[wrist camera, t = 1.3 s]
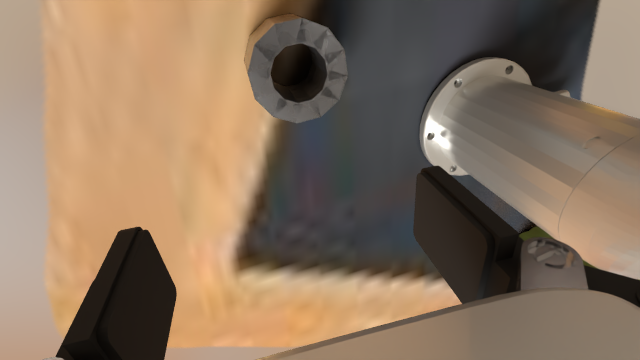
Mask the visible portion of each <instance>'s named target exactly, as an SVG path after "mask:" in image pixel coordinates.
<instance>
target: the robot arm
mask: <svg viewBox="0 0 640 360" xmlns="http://www.w3.org/2000/svg"><path fill="white" fill-rule="evenodd" d="M420 144H421V148H422V151H423V153H424V155H425V157H426V158H427V159H428V161H429V162H430V163H431V164H432V165H433V166H432V167H428V168H423V169H422V170H421V173H419V174H418V175H417V182H416V198H415V213H414V229H413V232H414V236H415V239H416V241H417V242H418V243H419V245H420V246H421V248H422V249H423V250H424V252H425V253H426V254H427V256H428V257H429V258H430V260H431V261H432V263H433V264H434V265H435V267H436V268H437V269H438V271H439V272H440V274H441V275H442V276H443V278H444V279H445V280H446V282H447V283H448V285H449V286H450V287H451V289H452V290H453V291H454V293H455V294H456V296H457V297H458V298H459V300H460V301H461V302H462V304H460V305H456V306H452V307H448V308H445V309H441V310H437V311H433V312H430V313H426V314H422V315H418V316H414V317H411V318H407V319H403V320H399V321H396V322H392V323H388V324H384V325H381V326H377V327H373V328H369V329H366V330H362V331H358V332H355V333H351V334H347V335H343V336H340V337H336V338H332V339H329V340H325V341H321V342H318V343H314V344H310V345H307V346H303V347H299V348H296V349H292V350H289V351H285V352H281V353H277V354H274V355H270V356H267V357H263V358H259V359H256V360H640V119H638V118H634V117H631V116H628V115H625V114H622V113H618V112H615V111H612V110H608V109H605V108H602V107H599V106H595V105H592V104H589V103H586V102H583V101H580V100H576V99H573V98H570V94H569V92H568V91H567V90H560V91H556V92H551V91H547V90H544V89H541V88H538V87H535V86H532V83H531V81H530V78H529V76H528V74H527V73H526V72H525V70H524V69H523V68H522V67H521V66H520V65H518V64H517V63H515V62H513V61H510V60H507V59H503V58H498V57H484V58H480V59H476V60H473V61H471V62H469V63H467V64H464V65H462V66H461V67H459V68H458V69H457V70H455V71H454V72H452V73H451V74H450V75H449V76H448V77H447V78H446V79H445V80H443V81H442V82H441V84H440V85H439V86H438V88H437V89H436V90H435V91H434V93H433V94H432V96H431V98H430V99H429V101H428V103H427V105H426V107H425V110H424V113H423V115H422V119H421V124H420ZM469 174H470V175H471V176H472V177H474V178H475V179H476V180H478V181H479V182H480V183H482V184H483V185H484V186H485V187H487V188H488V189H489V190H491V191H492V192H493V193H495V194H496V195H497V196H499V197H500V198H501V199H503V200H504V201H505V202H507V203H508V204H509V205H511V206H512V207H513V208H515V209H516V210H517V211H519V212H520V213H521V214H523V215H524V216H525V217H527V218H528V219H529V220H531V221H532V222H533V223H535V224H536V225H537V226H539V227H540V228H541V229H542V230H544V231H545V232H546V233H548V234H549V235H550V236H552V237H553V238H554V239H552V238H546V237H532V238H529V239H527V240H525V241H524V240H523V239H522V238H520V237H519V233H518V232H517V231H516V230H515V229H513V228H512V227H511V226H510V225H509V224H507V223H506V222H505V221H504V220H503V219H502V218H500V217H499V216H498V215H497V214H496V213H494V212H493V211H492V210H491V209H490V208H489V207H487V206H486V205H485V204H484V203H483V202H482V201H480V200H479V199H478V198H477V197H476V196H474V195H473V194H472V193H471V192H470V191H469V190H467V189H466V188H465V187H464V186H463V185H462V184H460V183H459V182H458V181H457V180H456V179H454V178H453V177H452V176H451V175H469ZM555 239H556V240H555ZM582 259H583V260H584V261H586V262H587V263H589V264H591V265H592V266H594V267H596V268H593V267H589V266H586V265H583V260H582ZM597 268H598V269H597ZM638 279H639V280H638ZM175 301H176V287H175V285H174V283H173V281H172V279H171V276H170V274H169V272H168V270H167V268H166V266H165V264H164V262H163V260H162V258H161V255H160V253H159V251H158V249H157V247H156V245H155V243H154V241H153V239H152V237H151V234H150V233H149V231H148V230H143V229H142V228H141V227H135V228H130V229H125V230H121V231H119V232H118V234H117V236H116V238H115V240H114V242H113V244H112V246H111V248H110V250H109V252H108V254H107V256H106V258H105V260H104V262H103V264H102V266H101V268H100V270H99V272H98V274H97V276H96V278H95V280H94V281H93V283H92V284H91V286H90V288H89V290H88V292H87V294H86V296H85V298H84V300H83V302H82V304H81V306H80V308H79V310H78V312H77V314H76V316H75V318H74V320H73V322H72V324H71V326H70V328H69V330H68V332H67V334H66V336H65V339H64V341H63V343H62V345H61V347H60V349H59V351H58V353H57V355H56V357H52V358H46V359H43V360H164V357H165V352H166V347H167V342H168V337H169V332H170V327H171V322H172V317H173V312H174V307H175Z"/></svg>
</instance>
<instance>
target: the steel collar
mask: <svg viewBox="0 0 640 360" xmlns="http://www.w3.org/2000/svg"><path fill="white" fill-rule="evenodd" d="M300 43H302V44H305V45H307V47H308V48H309V49H310V53H311V58H312V65H311V68H310V71H309V75H308V76H307V77H306V78H305V79H304V80H303V81H302V82H301V83H299V84H296V85H292V86H288V87H287V86H284V85H281V84H277V83H275V82H274V81H273V80H272V78H271V74H270V73H271V69H272V65H273V62H274V58H275V57H276V56H277V55H278V54H279V53H280V52H281V51H282V50H283V49H284V48H285V47H287V46H291V45H295V44H300ZM244 62H245V65H246V69H247V73H248V76H249V80H250V83H251V87H252V90H253V94H254V97H255V100H257V101H258V102H259V103H260V104H261V105H262V106H263V107H264V108H265V109H266V110H267V111H268V112H269V113H270V114H271V115H272V116H273V117H275V118H279V119H283V120H287V121H291V122H295V123H300V122H304V121H307V120H311V119H315V118H319V117H321V116H322V115H323V114H324V113H326V112H327V111H328V110H329V109H330V108H331V107H332V106H333V105H334V104H335V103H336V102H337V101H339V98H340V96H341V93H342V90H343V88H344V85H345V82H346V79H347V77H348V74H347V66H346V58H345V50H344V48H343V47H342V46H341V44H340V43H339V42H338V40H337V39H336V38H335V36H334V35H333V34H332V32H331V31H330V30H329V28H328V27H325V26H322V25H320V24H317V23H315V22H312V21H309V20H307V19H304V18H302V17H299V16H296V15H293V14H290V13H289V14H285V15H280V16H276V17H271V18H267V19H266V20H265V21H264V22H263V23H262V24H261V25H260V26H259V27H258V28H257V29H256V30H255V31H254V32H253V33H252V34H251V35H250V37H249V41H248V45H247V50H246V54H245V58H244Z"/></svg>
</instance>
